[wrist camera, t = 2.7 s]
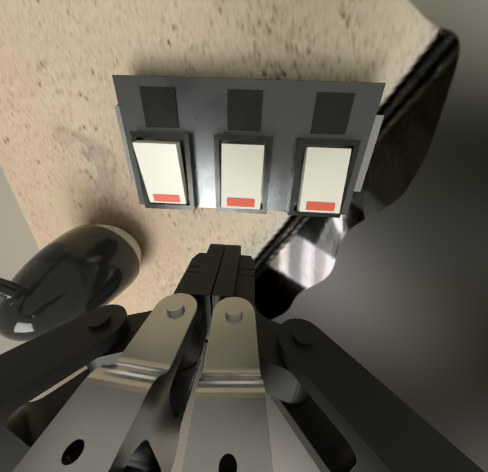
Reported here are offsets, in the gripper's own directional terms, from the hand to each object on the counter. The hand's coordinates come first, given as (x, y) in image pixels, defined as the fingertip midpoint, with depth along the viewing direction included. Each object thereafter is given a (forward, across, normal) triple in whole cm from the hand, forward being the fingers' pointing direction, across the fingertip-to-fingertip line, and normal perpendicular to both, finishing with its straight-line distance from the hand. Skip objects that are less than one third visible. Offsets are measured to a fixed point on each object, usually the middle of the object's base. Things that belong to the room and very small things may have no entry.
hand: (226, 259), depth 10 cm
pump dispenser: (+17, +19, +10) cm, 27 cm away
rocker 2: (+12, -8, -2) cm, 14 cm away
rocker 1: (+12, +8, -2) cm, 14 cm away
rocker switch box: (+16, 0, -4) cm, 17 cm away
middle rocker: (+12, 0, -2) cm, 12 cm away
